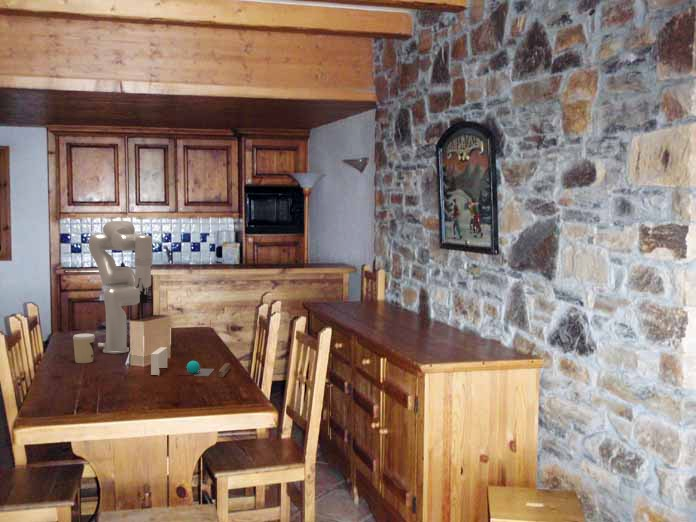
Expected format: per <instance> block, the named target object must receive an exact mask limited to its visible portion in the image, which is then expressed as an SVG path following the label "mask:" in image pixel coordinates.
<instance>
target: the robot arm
mask: <svg viewBox="0 0 696 522" xmlns="http://www.w3.org/2000/svg"><path fill="white" fill-rule="evenodd" d="M135 231H136V229H135V225H134V224H133V223H132V222H131V221H128V220H110V221H107V222H106V223H105V224H104V225H103V227H102V232H101V233H100V232H99V233H95V234H92V235H91V236H90V237H89V239H88V248H89V252H90V255H91V257H92V258H93V260H94V263H96V266H97V269H98V273H99V276H100V280H101V282H102V284H103V286H104V287H107V288H106V289H105V290H104V292H103V301H104V307H105V308H104V309H105V335H106V336H105V342H98V343H97V347H98V348H103V349H102V353H104V354H112V355H113V354H114V355H115V354H126V353H128V352H130V351H129V348H130V347H128V346H127V345H128V344H127V337H128V336H127V333H128V332H127V330H128V328H127V313H126V312H125V310H124V309H123V308H122V307H123V306H134V305H138V304H148V302H149V296H148V295H149V294H148V293H149V287H151V285H152V272H151V271H152V269H151V267H152V266H153V237H152V236H151V235H147V234H143V233H135ZM114 250H115V251H116V250H117V251H121V252H129V251H134V266H135V271H134V270H133V269H132V268H131V267H128V266H121V267H120V266H119V267H118V266H117V264H116V261H115V259H114V257H113V256H112V255H111V254H110V253H108V252H107V251H114Z"/></svg>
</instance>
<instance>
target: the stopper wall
mask: <svg viewBox="0 0 696 522" xmlns="http://www.w3.org/2000/svg"><path fill="white" fill-rule="evenodd" d="M230 369H231V363H230V362H225V363H224V364H223V365H222V366H221V368H220V369H219V370H218V371H217V375H218V376H217V377H218V378H224V377H225V376H226V374H227V373H228V372H229V371H230Z"/></svg>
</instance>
